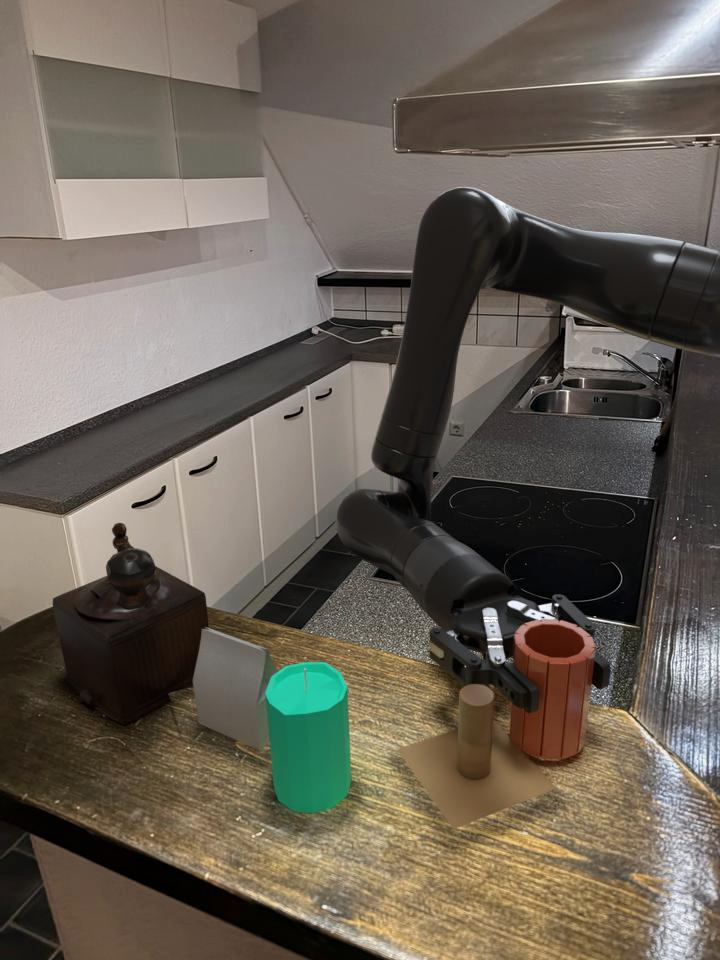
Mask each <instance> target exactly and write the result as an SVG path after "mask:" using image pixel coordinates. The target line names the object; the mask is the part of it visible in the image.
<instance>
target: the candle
mask: <svg viewBox="0 0 720 960" xmlns="http://www.w3.org/2000/svg"><path fill="white" fill-rule="evenodd" d="M265 698H266V709H267V720H268V731H269V752H270V761H271V763H270V764H271V773H272V784H273V788H274V792H275V795H276V798H277V801H278V802H279V803H281V804H283V805H284V806H285V807H287V809H289V810H290V811H292V812H297V813H306V814H307V813H308V814H316V813H319V812H323V811H327V810H329V809H330V810H331V809H334V808H335V807H336V806H337V805H338V804H339V803H341V802H342V801H343V800H344V799H345V798H347V796H348V795H349V791H350V787H351V784H352V763H351V762H352V761H351V759H352V758H351V738H350V715H349V713H350V712H349V688H348V685H347V683H346V681H345V678H344V676H343V674H342V673H341V672H340V671H339V670H337V669H336V668H335V667H334V666H332V665H330V664H329V663H327V662H326V661H325V662H324V661H321V662H320V661H318V662H317V661H305V662H300V663H295V664H290V665H289V664H288V665H285V666H284V667H283V668H280V670H278V672H277V673H276V674H274V675H273V676H272V677H271V679H270V681H269V684H268V687H267V690H266V693H265Z"/></svg>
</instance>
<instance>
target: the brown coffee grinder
mask: <svg viewBox="0 0 720 960" xmlns="http://www.w3.org/2000/svg"><path fill="white" fill-rule="evenodd" d="M127 530H128V529H127V526H126V524H125V523H123V522H117V523H114V525H113V527H112V528H111V532H112V534H113V536H114V538H112V539H113V540H112V546H113V548H114V549H115V550H116V551H117V552H116V553H114V554H112V556H110V558H108V560H107V562H106V565H105V571H106V575H104V576H102V577H101V578H98V579H96V580H92V581H91V582H89V583H86V584H83V585H81V586H79V587H76V588H74V589H71V590H68V591H67V592H63V593H62V594H59V595H57V596H55V597H53V598H52V609H53V614H54V619H55V624H56V629H57V633H58V638H59V643H60V648H61V652H62V657H63V663H64V665H65V666H64V667H65V671H66V683H67V685H69V686H70V687H71V688H72V689H73V690H74V691H75V692H76V693H77V694H78V695H79V698H80V699H81V701H83V702H84V703H85V704H87V705H89V706H90V707H92V708H93V709H95V710H97V711H99V712H100V713H102V714H103V715H104V716H106V717H107V718H109V719H110V720H112V721H115V722H117V723H119V724H121V725H124V726H126V725H128V724H130V723H133V722H135V721H137V720H139V719H142V718H144V717H146V716H148V715H150V714H153V713H154V712H156V711H158V710H159V709H161V708H163V707H164V706H166V705H168V704H170V703H171V702H172V700H171V697H170V694H171V693H174V692H179V691H183V690H186V689H189V688H194V686H193V677H194V672H195V667H196V663H197V658H198V653H199V648H200V642H201V634H202V629H205V627H207V628H210V625H209V615H208V614H209V613H208V607H207V597H206V593H205V592H204V591H202V590H200V589H198V588H197V587H195V586H193V585H192V584H190V583H188V582H186V581H184V580H183V579H181V578H178V577H176V576H174V575H173V574H171V573H170V572H167V571H165V570H163V569H162V568H160V567H158V566H157V565H156V563H155V560H154V559H153V557H152V555H151V554H150V553H149V552H148V551H147V550H144V549H142V548H139V547H138V548H135V547H134V546H132V544H131V543H130V541H129V536H128V535H127Z"/></svg>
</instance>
